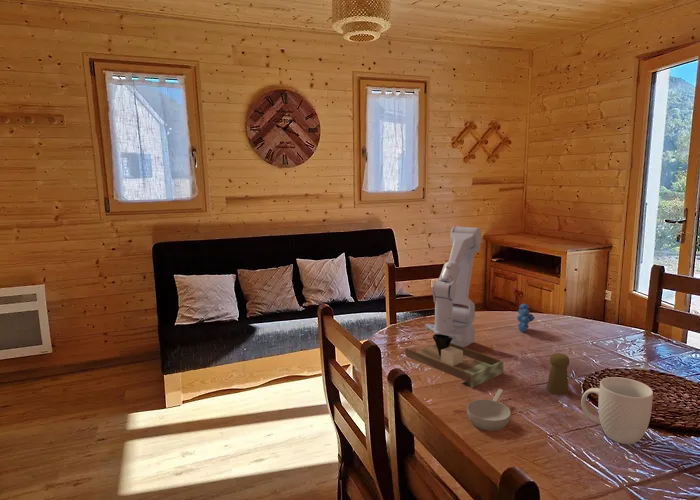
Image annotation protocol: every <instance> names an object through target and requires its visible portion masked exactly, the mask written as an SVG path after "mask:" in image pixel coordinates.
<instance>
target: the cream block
mask: <svg viewBox="0 0 700 500" xmlns="http://www.w3.org/2000/svg"><path fill="white" fill-rule="evenodd" d="M463 357H464V355H463V350H460V349H457V348H454V347H452V346H450V347H448V348H445V349H442V350H441V362H444V363H446V364H449V365H451V366H454V365H457V364H459V363H462V362H463V361H464V360H463V359H464V358H463Z"/></svg>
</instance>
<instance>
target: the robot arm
mask: <svg viewBox="0 0 700 500" xmlns="http://www.w3.org/2000/svg"><path fill="white" fill-rule="evenodd" d="M449 237H450V244H451V250H450V254H449V258H448V261H447V262H445V263H444V264H443V266H442V269H441V272H440V275H439V277H438V279H437V281H435V282H434V283H433V286H432V297H433V303H434V324H432V323H426V324H424V330H425V331H430V332H433V335H432V339H433V340H434V342H435V345H437V348H438V352H439V356H441V350H442V349H445V348H448V347H449V344H450V343H453V344H456V345H459V346H461V347H464V348H466V347H468V346H469V345H471V344H473V343H475V338H476V337H475V336H476V335H475V334H476V329H475V328H476V327H475V326H474V322H475V317H476V305H475V303H474V302H473V301H472V300H471V299H470V298H469V294H470V287H471V279H472V274H473V273H472V271H473V265H474V260H475V255H476V253H478V252H480V249H481V244H482V238H483V237H482V231H481V228H480V227H472V226H471V227H469V226H458V225H457V226H452V228H451V230H450V234H449Z"/></svg>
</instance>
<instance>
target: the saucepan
mask: <svg viewBox="0 0 700 500" xmlns="http://www.w3.org/2000/svg"><path fill="white" fill-rule="evenodd" d="M503 392H504V389H501V388H498V389H497V391H496V393H495V395H494V397H493V398H492V400H491V399H475V400H472V401H470V402H468V404H467V406H466V413H467V416H468V418H469V420H470V422H471V424H472V425H474V427H477V428H479V429H480V430H481V429H482V430H484V431H490V432H491V431H493V432H494V431H495V432H496V431H499V430H502V429H504V428H505V427H506V425H508V423H509V422H510V418H511V410H510V408H509V407H508V406H506V404H503V403H501V402H499V399H500V398H501V396H502V395H503Z"/></svg>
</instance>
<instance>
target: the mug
mask: <svg viewBox="0 0 700 500" xmlns="http://www.w3.org/2000/svg"><path fill="white" fill-rule="evenodd" d="M590 394H596V395H598V398H597V399H598V402H597V405H598V406H597V407H598V417H597V416H595V415H594V414H592V413H591V412H590V411H589V410H588V407H587V404H586V403H587V401H586V400H587V397H588V396H589V395H590ZM653 398H654V392H653V389H652V388H651V387H650V386H649V385H647V384H645V383H643V382H641V381H638V380H636V379H635V380H634V379H632V378H626V377H623V376H622V377H620V376H619V377H618V376H611V377H604V378H602V379H601V380H600V381H599V388H598V387H590V388H588V389H587V390H585V392H584V393H582V396H581V401H580V402H581V403H580V405H581V409H582V412H583V413H584V415H585V416H586V417H587V418H588V419H589V420H591V421H593V422H595V423H597V424H599V425H601V429H602V430H603V432H604V434H605V435H606V437H607V438H608V439H610V440H611V441H613V442H615V443H618V444H622V445H634V444H636V443H637V442H639V441H640V440H641V439H642V438H643V437H644V435H645V434H646V431H647V429H648V427H649V425H650V420H651V415H652V409H653V407H652V406H653V400H654V399H653Z"/></svg>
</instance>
